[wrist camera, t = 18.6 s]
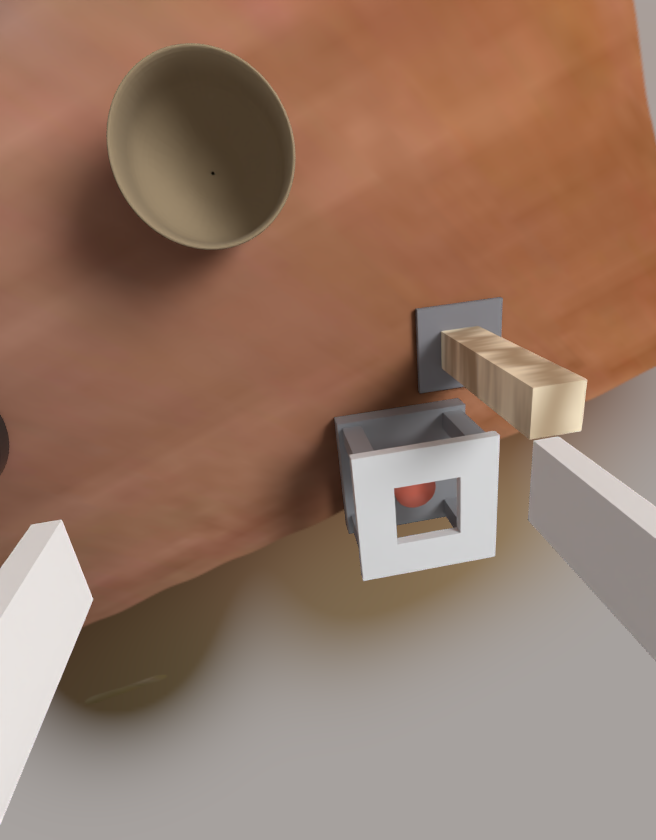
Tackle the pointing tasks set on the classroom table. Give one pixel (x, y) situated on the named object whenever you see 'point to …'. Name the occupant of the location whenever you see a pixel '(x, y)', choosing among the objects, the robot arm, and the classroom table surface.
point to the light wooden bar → (515, 382)
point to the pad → (449, 318)
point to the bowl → (200, 146)
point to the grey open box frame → (416, 464)
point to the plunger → (415, 494)
